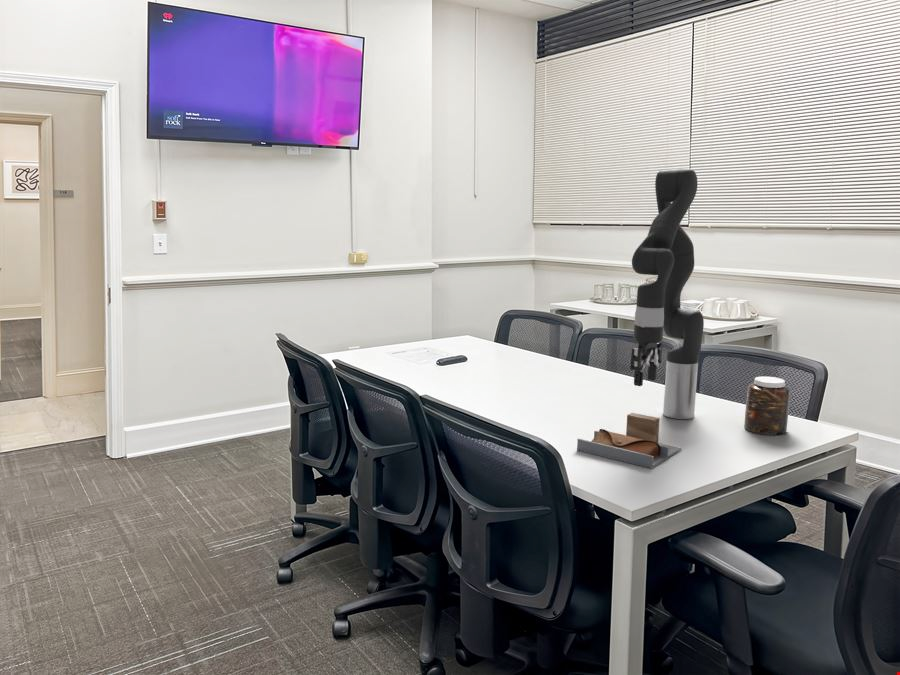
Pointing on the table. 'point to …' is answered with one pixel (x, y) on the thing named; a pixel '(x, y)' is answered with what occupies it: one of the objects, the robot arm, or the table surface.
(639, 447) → the sunglasses case
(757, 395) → the jar
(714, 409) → the table surface
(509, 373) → the table surface
